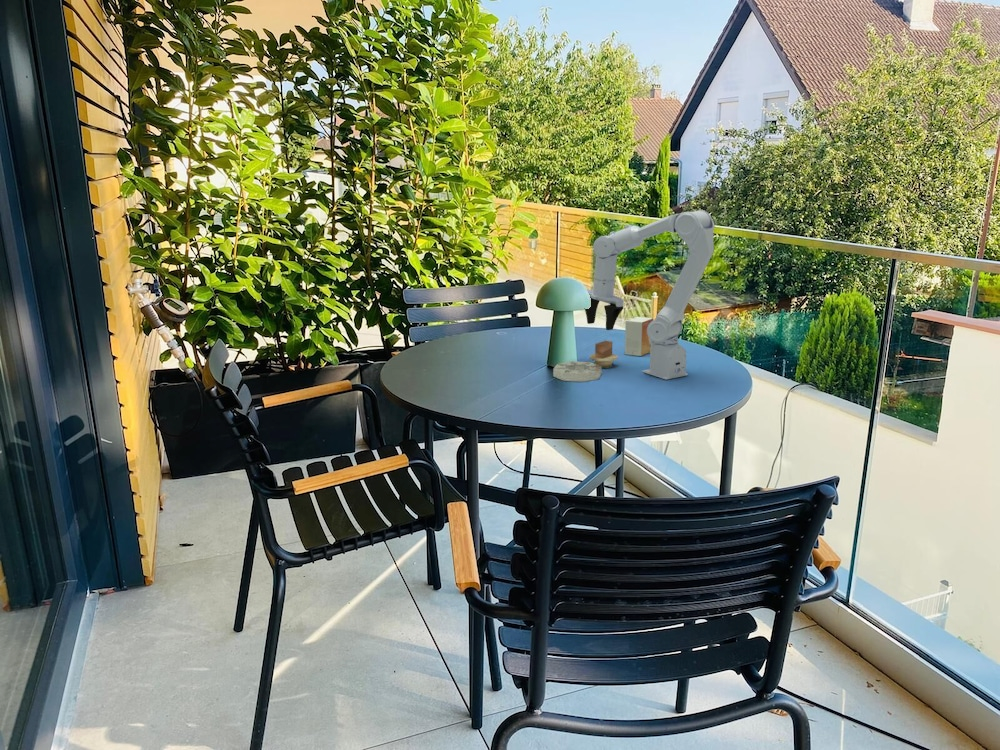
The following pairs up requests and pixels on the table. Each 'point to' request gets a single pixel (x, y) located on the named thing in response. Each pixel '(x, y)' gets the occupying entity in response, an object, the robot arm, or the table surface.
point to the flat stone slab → (577, 371)
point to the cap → (603, 354)
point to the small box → (637, 336)
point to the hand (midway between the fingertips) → (600, 326)
